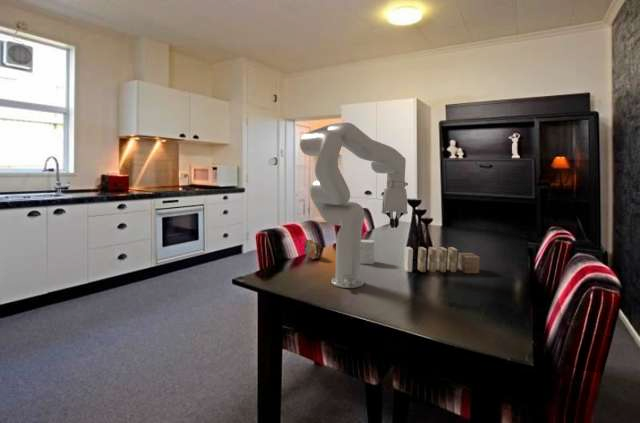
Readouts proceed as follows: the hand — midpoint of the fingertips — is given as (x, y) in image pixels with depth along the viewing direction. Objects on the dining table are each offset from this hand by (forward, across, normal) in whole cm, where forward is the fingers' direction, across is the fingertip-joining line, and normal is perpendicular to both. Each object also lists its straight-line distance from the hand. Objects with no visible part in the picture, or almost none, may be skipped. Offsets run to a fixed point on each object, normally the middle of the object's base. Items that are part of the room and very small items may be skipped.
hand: (393, 227), depth 158 cm
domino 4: (+19, -22, 0) cm, 29 cm away
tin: (+19, +35, -23) cm, 46 cm away
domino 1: (+19, -7, 0) cm, 20 cm away
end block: (+19, -34, 0) cm, 39 cm away
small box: (+19, +10, -13) cm, 25 cm away
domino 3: (+19, -18, 0) cm, 26 cm away
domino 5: (+19, -26, 0) cm, 33 cm away
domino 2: (+19, -13, 0) cm, 23 cm away
